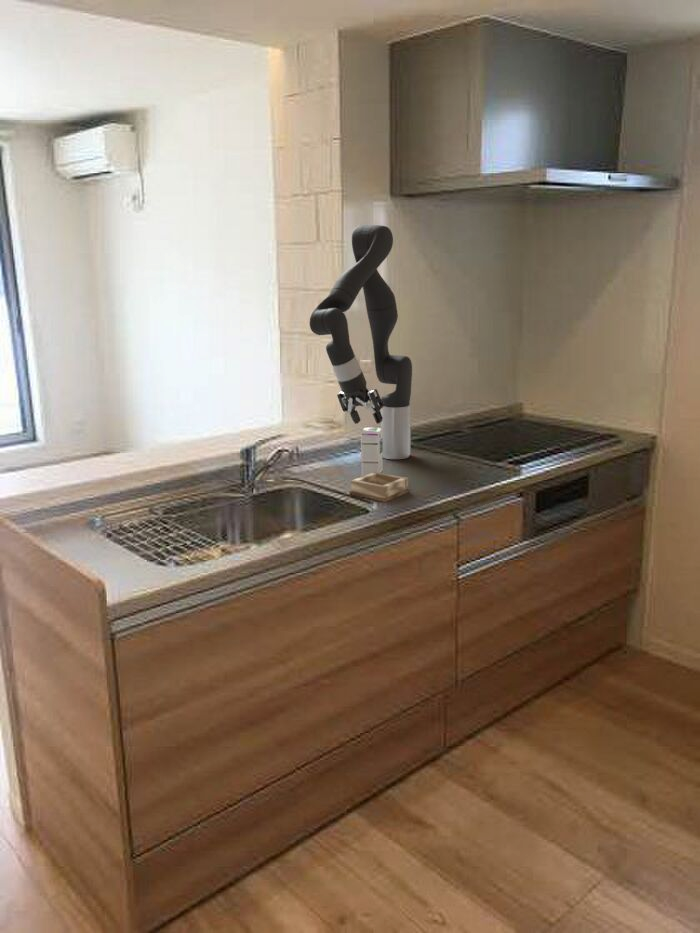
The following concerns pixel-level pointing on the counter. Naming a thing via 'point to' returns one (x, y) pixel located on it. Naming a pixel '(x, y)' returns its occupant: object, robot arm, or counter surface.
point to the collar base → (379, 486)
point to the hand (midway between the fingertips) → (368, 422)
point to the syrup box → (371, 450)
